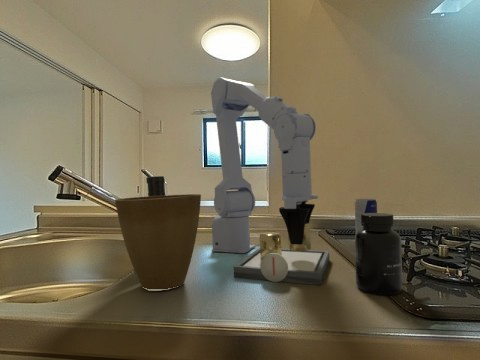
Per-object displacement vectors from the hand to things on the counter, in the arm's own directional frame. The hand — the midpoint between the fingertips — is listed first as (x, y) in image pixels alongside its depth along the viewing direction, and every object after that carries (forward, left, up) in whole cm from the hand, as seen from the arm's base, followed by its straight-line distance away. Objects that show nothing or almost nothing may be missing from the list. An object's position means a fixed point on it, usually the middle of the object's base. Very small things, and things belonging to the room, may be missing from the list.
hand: (299, 241), depth 61 cm
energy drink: (+13, +25, -6) cm, 29 cm away
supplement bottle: (+14, -7, -6) cm, 17 cm away
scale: (-3, 0, -6) cm, 6 cm away
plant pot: (-22, -15, -6) cm, 27 cm away
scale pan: (-3, 0, -4) cm, 5 cm away
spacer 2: (0, 0, -1) cm, 1 cm away
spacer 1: (-6, 0, -4) cm, 7 cm away
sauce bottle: (-32, -2, -6) cm, 33 cm away
